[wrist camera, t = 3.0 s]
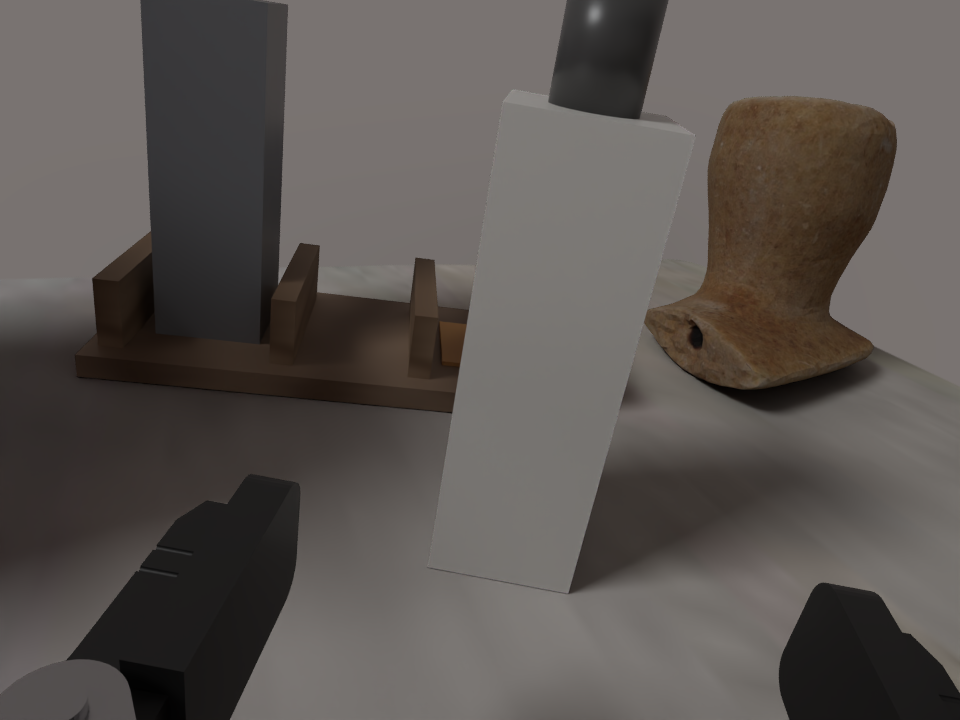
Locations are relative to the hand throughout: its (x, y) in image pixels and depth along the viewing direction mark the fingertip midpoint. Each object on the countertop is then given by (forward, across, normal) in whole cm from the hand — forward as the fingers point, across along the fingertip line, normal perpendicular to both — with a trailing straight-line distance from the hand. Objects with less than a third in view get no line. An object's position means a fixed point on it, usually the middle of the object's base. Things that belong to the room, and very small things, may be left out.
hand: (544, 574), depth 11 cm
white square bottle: (+11, 0, +8) cm, 13 cm away
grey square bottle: (+22, +14, +7) cm, 27 cm away
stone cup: (+32, -14, +8) cm, 36 cm away
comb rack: (+23, +8, +8) cm, 25 cm away
